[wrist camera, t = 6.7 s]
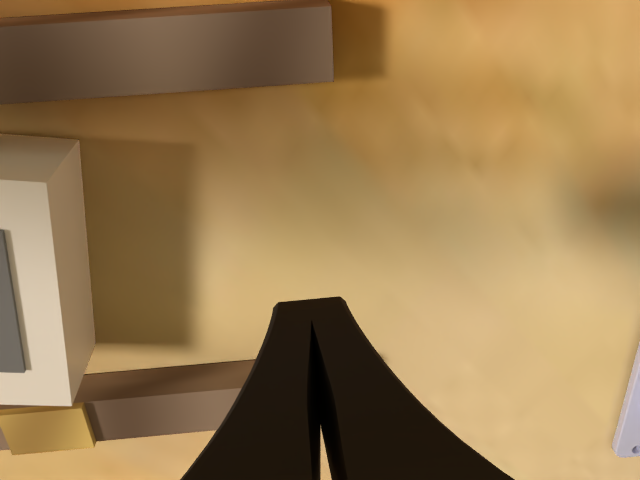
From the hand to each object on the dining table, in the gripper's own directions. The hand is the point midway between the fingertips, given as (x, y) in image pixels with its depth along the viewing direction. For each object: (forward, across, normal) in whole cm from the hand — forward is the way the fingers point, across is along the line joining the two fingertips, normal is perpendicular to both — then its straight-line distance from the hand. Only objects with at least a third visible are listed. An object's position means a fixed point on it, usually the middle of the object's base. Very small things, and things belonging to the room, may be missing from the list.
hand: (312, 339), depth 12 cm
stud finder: (+9, +10, +2) cm, 14 cm away
